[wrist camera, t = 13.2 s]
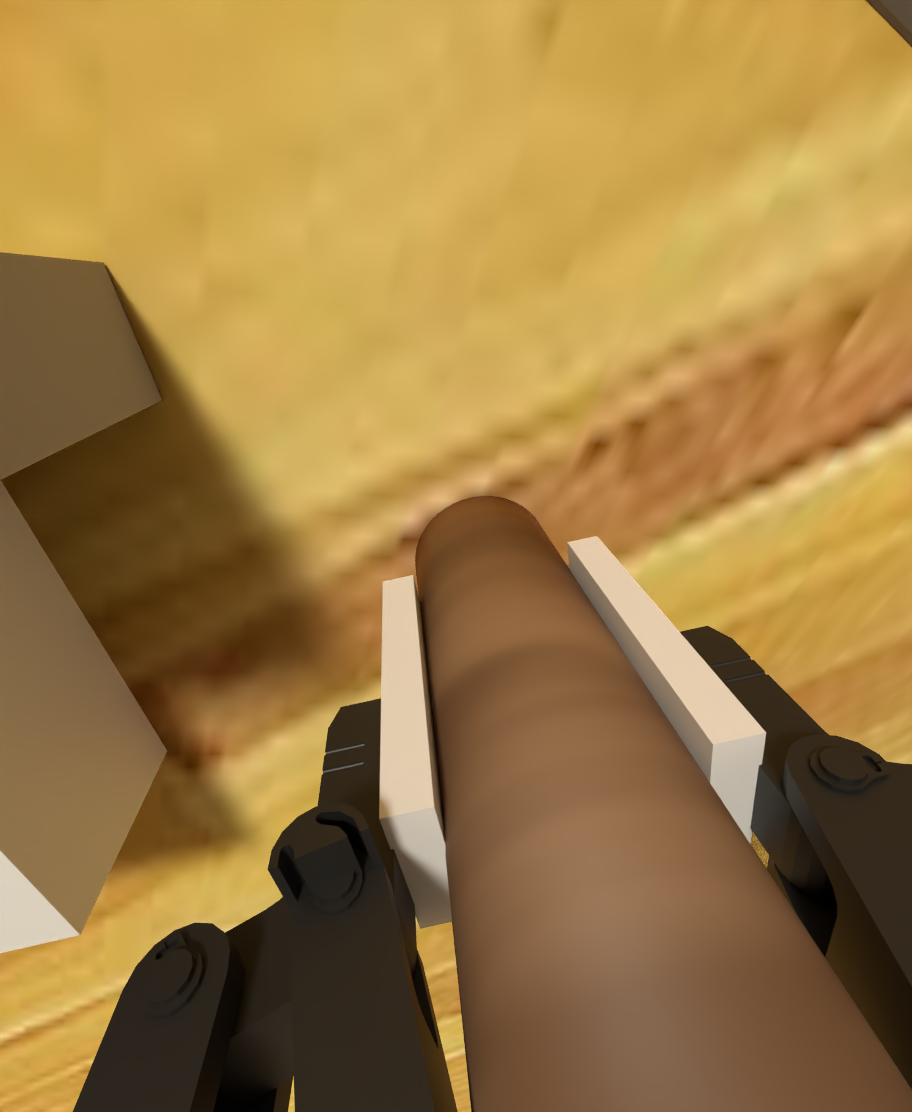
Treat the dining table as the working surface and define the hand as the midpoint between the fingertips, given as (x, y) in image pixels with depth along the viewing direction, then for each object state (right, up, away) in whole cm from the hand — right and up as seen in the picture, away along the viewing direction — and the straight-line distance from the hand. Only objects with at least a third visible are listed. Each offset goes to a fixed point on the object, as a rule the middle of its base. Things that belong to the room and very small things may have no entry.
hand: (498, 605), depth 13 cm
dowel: (0, +1, +2) cm, 3 cm away
